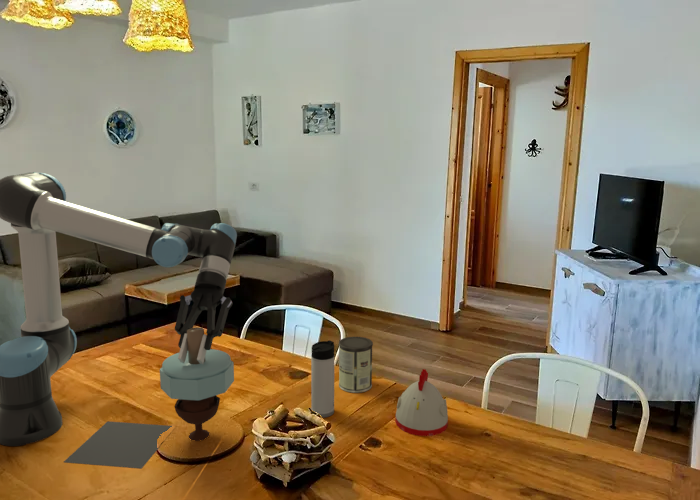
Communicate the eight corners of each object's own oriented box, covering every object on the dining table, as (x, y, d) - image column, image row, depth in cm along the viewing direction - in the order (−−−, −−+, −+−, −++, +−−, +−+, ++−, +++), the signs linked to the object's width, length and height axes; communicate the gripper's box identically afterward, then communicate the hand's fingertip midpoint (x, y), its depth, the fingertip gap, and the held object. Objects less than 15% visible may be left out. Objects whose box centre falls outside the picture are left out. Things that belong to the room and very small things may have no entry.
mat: (63, 463, 128) (63, 462, 128) (107, 422, 147) (107, 421, 147) (141, 470, 126) (141, 468, 126) (176, 427, 145) (176, 426, 145)
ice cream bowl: (210, 450, 134) (207, 393, 131) (168, 445, 136) (164, 388, 134) (228, 428, 144) (226, 374, 142) (188, 424, 147) (186, 370, 144)
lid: (151, 397, 131) (147, 340, 128) (180, 369, 147) (177, 318, 144) (218, 401, 129) (216, 343, 126) (240, 372, 145) (238, 320, 142)
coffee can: (350, 375, 178) (350, 333, 175) (378, 383, 172) (379, 340, 169) (331, 387, 169) (332, 343, 166) (360, 396, 164) (361, 351, 161)
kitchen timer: (389, 430, 145) (390, 376, 142) (402, 406, 158) (404, 357, 155) (442, 440, 140) (445, 385, 137) (451, 415, 153) (454, 364, 150)
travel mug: (339, 411, 154) (340, 343, 150) (322, 420, 149) (322, 350, 145) (323, 404, 158) (324, 337, 154) (306, 412, 154) (306, 344, 150)
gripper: (247, 285, 147) (229, 369, 135) (185, 283, 149) (162, 365, 137) (240, 270, 141) (220, 357, 128) (176, 268, 143) (150, 353, 130)
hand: (190, 361), depth 133 cm, fingers closed on lid, 4 cm apart
